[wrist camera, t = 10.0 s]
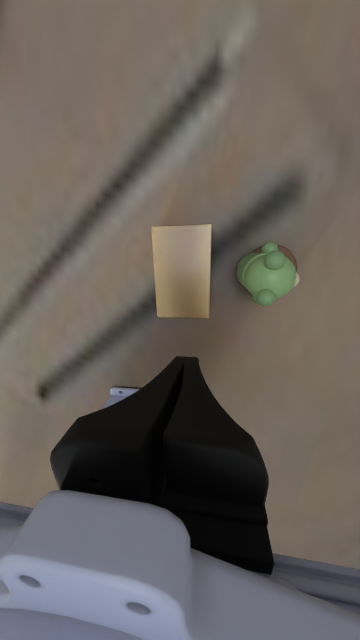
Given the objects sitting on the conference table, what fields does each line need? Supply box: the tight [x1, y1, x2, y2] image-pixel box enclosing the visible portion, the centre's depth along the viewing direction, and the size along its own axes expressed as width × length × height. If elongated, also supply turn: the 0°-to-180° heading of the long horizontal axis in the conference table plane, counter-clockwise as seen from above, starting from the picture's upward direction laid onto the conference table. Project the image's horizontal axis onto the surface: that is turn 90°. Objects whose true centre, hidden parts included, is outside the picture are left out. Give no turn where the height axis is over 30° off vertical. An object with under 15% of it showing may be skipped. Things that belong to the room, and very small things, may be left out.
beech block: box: [151, 224, 212, 318], centre depth 19 cm, size 5×8×3 cm, turn 2°
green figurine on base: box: [236, 242, 300, 306], centre depth 16 cm, size 8×5×7 cm
